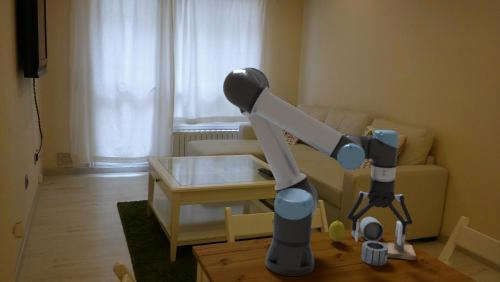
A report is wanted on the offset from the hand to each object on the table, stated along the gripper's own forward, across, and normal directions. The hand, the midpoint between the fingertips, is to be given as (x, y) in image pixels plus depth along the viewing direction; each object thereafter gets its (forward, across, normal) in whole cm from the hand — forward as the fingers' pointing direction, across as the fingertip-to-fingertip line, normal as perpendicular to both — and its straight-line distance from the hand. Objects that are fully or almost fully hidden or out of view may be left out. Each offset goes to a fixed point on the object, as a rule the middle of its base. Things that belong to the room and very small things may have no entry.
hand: (377, 241), depth 151 cm
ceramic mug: (+7, -1, +19) cm, 20 cm away
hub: (+7, -1, 0) cm, 7 cm away
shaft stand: (+7, +8, +8) cm, 13 cm away
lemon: (+6, -13, +12) cm, 19 cm away
